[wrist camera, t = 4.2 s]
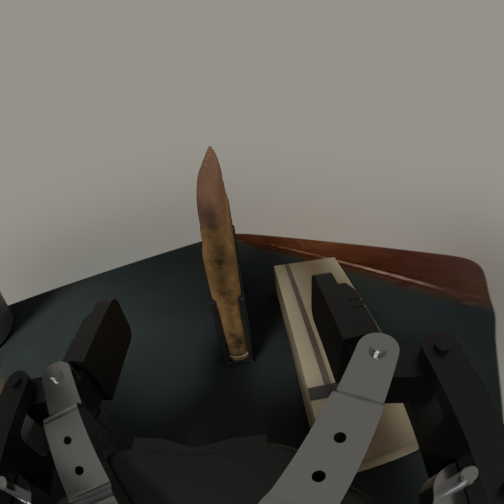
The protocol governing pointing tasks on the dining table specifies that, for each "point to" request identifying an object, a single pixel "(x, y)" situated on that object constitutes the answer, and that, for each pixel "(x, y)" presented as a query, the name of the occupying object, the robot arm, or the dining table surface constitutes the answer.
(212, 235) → the ammunition clip
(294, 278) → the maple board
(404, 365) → the robot arm
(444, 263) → the dining table surface
